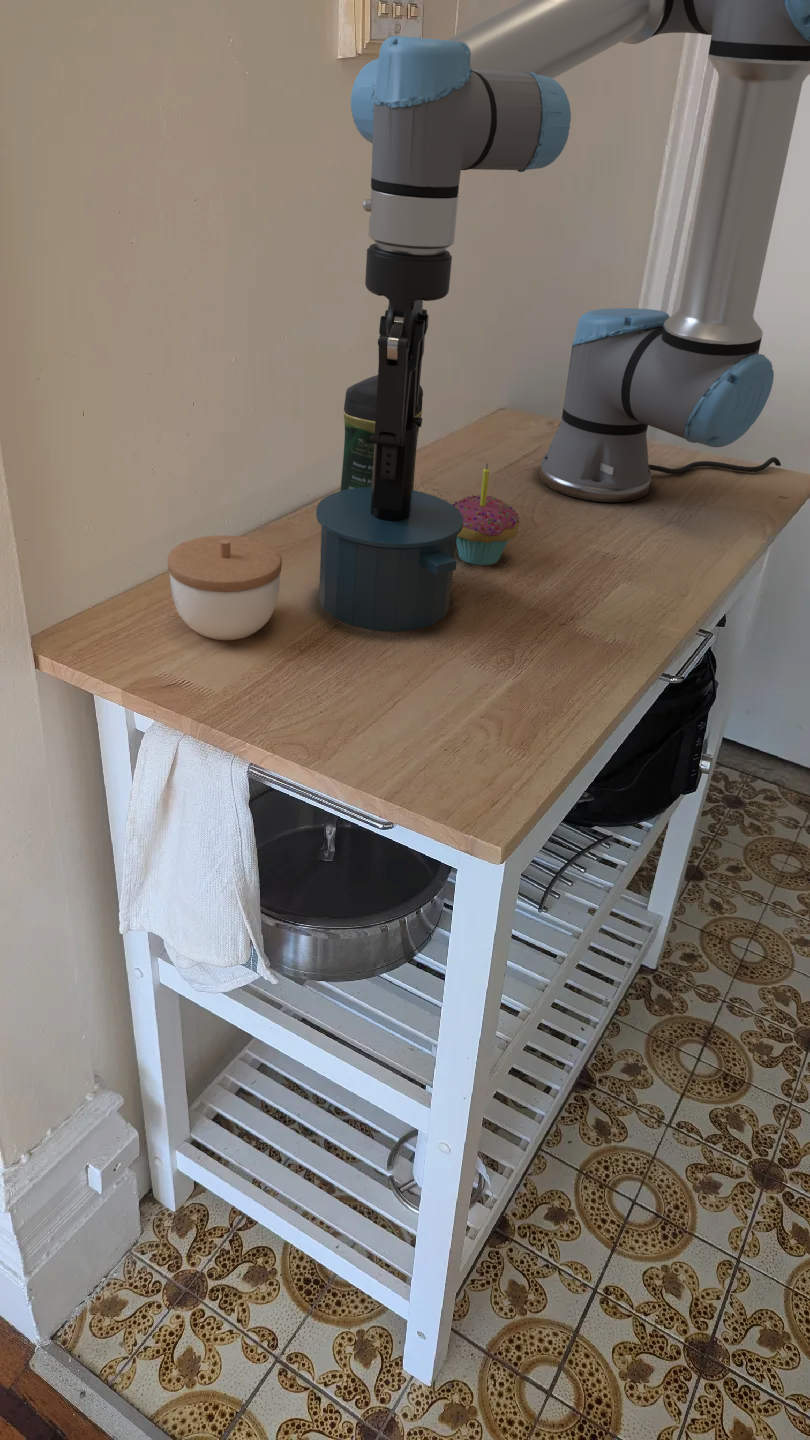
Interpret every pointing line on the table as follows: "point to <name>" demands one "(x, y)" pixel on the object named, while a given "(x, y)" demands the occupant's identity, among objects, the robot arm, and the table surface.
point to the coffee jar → (362, 433)
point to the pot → (385, 583)
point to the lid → (391, 512)
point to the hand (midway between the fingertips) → (391, 499)
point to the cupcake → (485, 526)
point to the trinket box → (225, 584)
